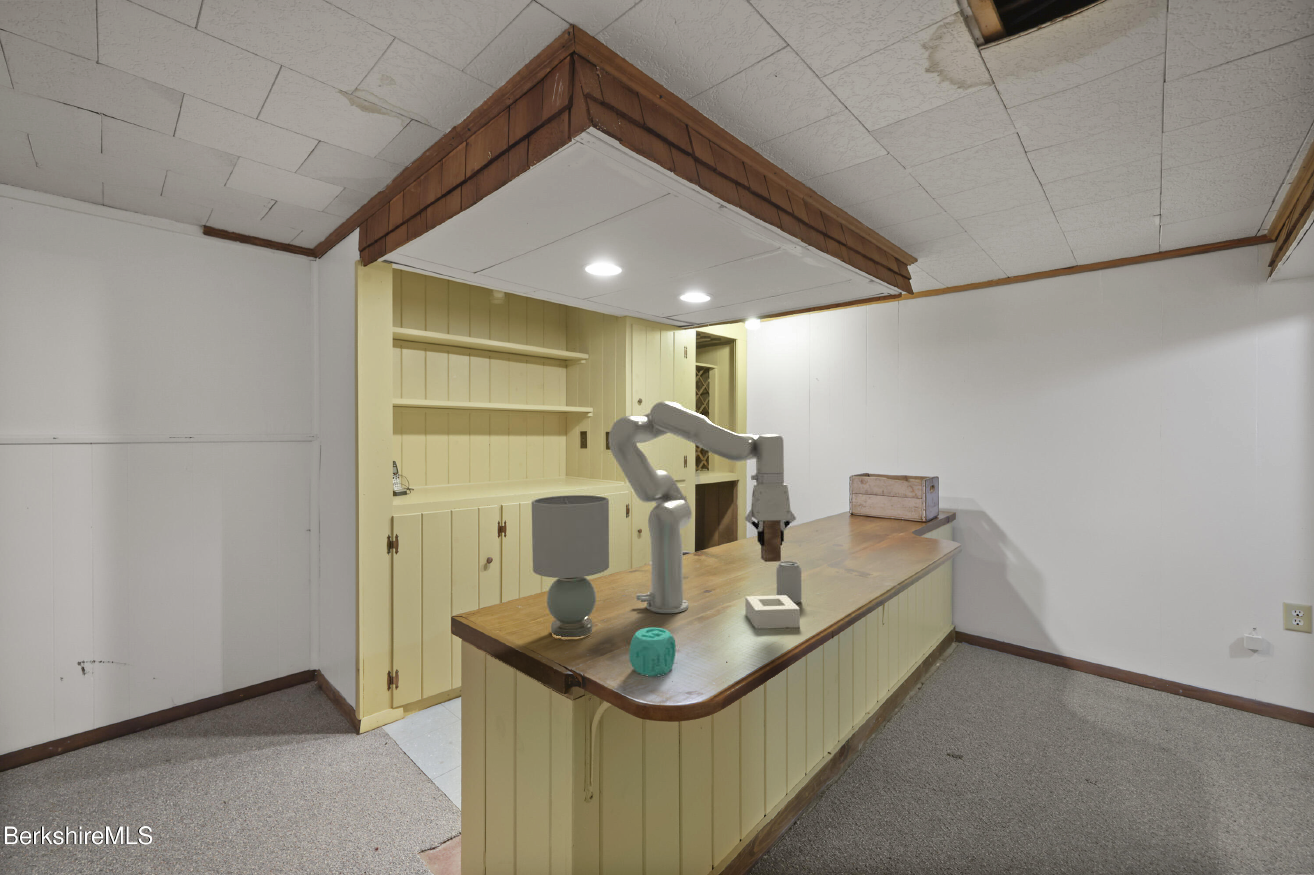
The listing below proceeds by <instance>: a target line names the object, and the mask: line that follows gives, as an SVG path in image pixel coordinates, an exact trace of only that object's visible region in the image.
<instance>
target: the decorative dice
mask: <svg viewBox="0 0 1314 875" xmlns="http://www.w3.org/2000/svg"><path fill="white" fill-rule="evenodd" d="M676 646H677V645H676V641H675V637H674V636H673V634H671V632H670V631H669V630H668V629H665V628H660V627H645V628H641V629H639V630H638V631H636V632H635V633H634V635H633V636H632V639H631V641H630V646H629V651H628V654H629V655H628V657H629V663H630V665H631V666H632V669H633V670H634V671H635V672H636V673H638V674H639V673H640V674H639V675H641V674H643V675H642V676H644V675H648V676H647V677H650V676H655V677H659V676H658V675H661V676H664V675H666V674H668V673H669V672H670V671H671V670H672V668H673V666H674V663H675V658H676V650H677V649H676V648H677V647H676ZM663 674H664V675H663Z"/></svg>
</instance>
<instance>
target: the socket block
mask: <svg viewBox="0 0 1314 875" xmlns="http://www.w3.org/2000/svg"><path fill="white" fill-rule="evenodd" d="M744 598H745V606H744V607H745V615H746V617H747V618H748V619H749V621H750V622H751V624H752V625H753V626H754V628H755V629H785V628H786V627H789V628H800V627H801V621H800V619H801V618H800V617H801V614H800V612H801V609H800V607H799V606H798V605H797V604H794V603H793V602H792V601H791V600H790V599H789V598H788V597H787V596H786V595H777V594H776V595H751V596H749V595H748V596H745V597H744Z"/></svg>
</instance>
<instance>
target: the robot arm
mask: <svg viewBox="0 0 1314 875" xmlns="http://www.w3.org/2000/svg"><path fill="white" fill-rule="evenodd" d="M667 434H671V435H673V436H676V437H678V438H681V439H682V440H686V441H688V442H690V443H692V444H694V445H695V446H697V447H700V448H701V449H703V450H705V451H708V452H709V453H711V454H713V455H716V456H718V457H721V458H724V459H725V460H728V461H731V462H734V463H736V462H737V463H739V462H745V461H750V460H751V461H752V460H755V468H756V469H755V474H753V475H750V478H751V481H755V483H754V484H753V487H752V493H751V494H752V495H751V507H750V508H751V509H750V510H749V512H748V513H747V515H746V516H745V517H744V520H745V521H746V522H747V523H748V524H751V526H753V527H754V528H755V529H756V532H757V536H756V538H757V539H756V540H757V543H759V545H760V547H761V546H764V532H763V525H764V521H781V546H783V542H785V531H786V529H788V527H789V526H790V525H791V524H792V523H793V522H794V521H796V520H797V518H796V517H797V516H796V515H795V514H794V513H793V511H792V510H791V502H790V495H789V487H788V484H787V483H785V482H784V481H785V473H784V472H785V466H784V464H785V463H784V462H785V460H784V457H785V456H784V438H783V436H781V435H780V434H760V435H753V434H748V433H740V434H738V433H735V432H734V431H733V432H732V431H730V430H728V429H725V428H722V427H720V426H718V425H715V424H714V423H712V421H710V420H709V419H708V418H707V416H705V415H702V414H701V413H698V412H696V411H695V412H694V411H692V410H689V409H686V407H685V408H684V407H683V405H681V404H679V403H678V402H675V401H674V402H673V401H664V400H663V401H659V402H656V403H654V405H653V406H652V407H651V408H650V410H649V412H648V413H646V414H644V415H625V416H622V417H619V418H618V419H617V420H616V421H614V423H613V424H612V426H611V427H610V431H609V435H608V446H609V449H610V452H611V454H612V456H613V458H614V459H615V461H616V463H617V464H618V466H619V468H620V469H621V471H622V473H623V474H624V476H625V478H626V480H627V482H628V483H629V485H630V487H631V488H632V490H633V492H634V494H635V495H636V497H637V498H638V500H639V501H641V502H642V503H645V504H646V503H647V504H650V503H655V506H653V508H652V509H651V510H650V511H649V515H648V519H647V521H648V522H647V524H648V532H649V537H650V539H649V541H650V558H651V559H650V560H651V561H650V565H651V566H650V567H651V568H650V569H651V574H650V575H651V583H650V585H651V586H650V587H651V589H649V592H646V593H636V595H635V596H636V598H635V599H636V601H640V602H641V603H646V608H647V610H649V611H650V612H653V613H657V614H658V613H659V614H677V613H682V612H684V611H686V610H687V609H688V608H689V602H688V601H687V600H685V599H684V575H683V574H684V572H683V571H684V562H683V557H684V556H683V555H684V554H683V552H684V550H683V549H684V547H683V540H682V537H681V536H682V535H681V530H682V529H684V528H686V527H687V526H688V525H689V524H690V522H691V521H692V517H693V516H692V515H693V514H692V508H691V506H690V504H689V502H688V500H687V499H686V497H685V495H684V493H683V492H682V490H681V488H680V486H679V485H678V483H677V482H676V481H675V479H674V478H673V477H672V475H671V474H669V473H668V472H667V471H665V470H662V469H654V467H653V466H652V464H651V463H650V461H649V460H648V458H647V456H646V454H645V453H644V452H643V451H642V450H641V448H639V446H638V445H637V444H641V443H647V442H648V443H649V442H650V441H653V440H655V439H658V438H659V437H663V436H665V435H667ZM753 519H755V520H756V521H755V520H753Z"/></svg>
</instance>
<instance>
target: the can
mask: <svg viewBox="0 0 1314 875" xmlns="http://www.w3.org/2000/svg"><path fill="white" fill-rule="evenodd" d="M775 570H776V573H775V574H776V576H775V577H776V596H777V595H786V596H787V597H788V598H789V599H790V600H791V601H792V602H793V603H794V604H795V605H797V604H798V603H800V602H801V601H802V599H803V598H802V567H800V563H799V562H797V561H793V560H792V561H791V560H781V561H779V562H778V565H777V566H776V569H775Z"/></svg>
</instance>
